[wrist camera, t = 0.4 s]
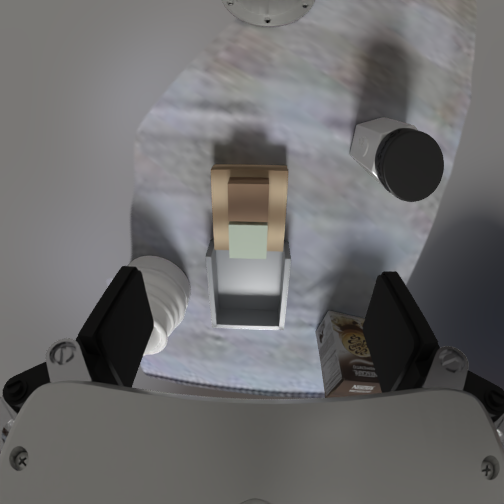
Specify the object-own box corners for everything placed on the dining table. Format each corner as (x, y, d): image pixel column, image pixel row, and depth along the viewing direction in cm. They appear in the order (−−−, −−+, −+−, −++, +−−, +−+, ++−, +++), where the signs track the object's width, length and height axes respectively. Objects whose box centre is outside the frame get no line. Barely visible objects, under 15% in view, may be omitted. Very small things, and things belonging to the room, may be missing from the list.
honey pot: (156, 321, 55) (129, 395, 40) (111, 275, 50) (67, 345, 35) (205, 296, 52) (186, 379, 36) (158, 242, 46) (115, 317, 31)
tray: (210, 240, 46) (205, 256, 41) (288, 242, 46) (291, 259, 41) (215, 308, 53) (212, 327, 49) (282, 310, 53) (283, 329, 48)
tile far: (230, 215, 40) (228, 224, 38) (267, 216, 40) (267, 225, 38) (231, 247, 43) (229, 258, 40) (266, 248, 43) (266, 259, 40)
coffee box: (368, 317, 53) (391, 383, 40) (352, 339, 57) (370, 404, 43) (328, 308, 52) (344, 380, 38) (313, 332, 56) (324, 401, 42)
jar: (357, 109, 35) (392, 117, 24) (407, 125, 35) (452, 140, 25) (344, 168, 39) (372, 197, 29) (393, 180, 40) (431, 212, 29)
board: (214, 164, 40) (210, 169, 37) (286, 165, 40) (288, 171, 37) (217, 240, 46) (214, 249, 43) (281, 241, 46) (283, 251, 43)
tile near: (230, 176, 38) (227, 183, 35) (268, 177, 37) (269, 184, 35) (230, 212, 40) (228, 221, 38) (267, 212, 40) (267, 222, 37)
